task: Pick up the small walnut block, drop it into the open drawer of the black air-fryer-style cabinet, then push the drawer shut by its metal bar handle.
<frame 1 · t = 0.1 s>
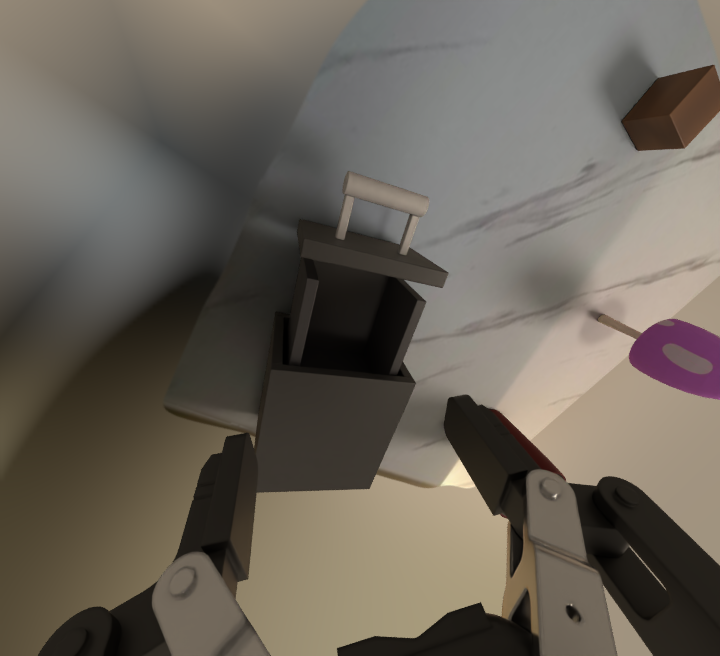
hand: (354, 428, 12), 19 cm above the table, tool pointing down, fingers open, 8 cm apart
drawer: (354, 292, 24), point 5 cm above the table, slide at 8.0 cm
cabinet: (318, 372, 33), on the table
toy: (600, 317, 39), on the table
block: (647, 116, 27), on the table
mug: (472, 424, 44), on the table
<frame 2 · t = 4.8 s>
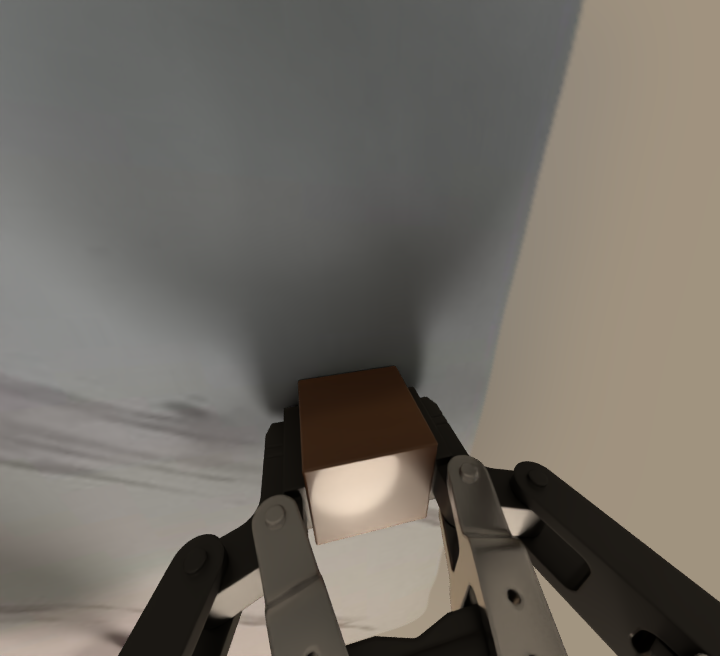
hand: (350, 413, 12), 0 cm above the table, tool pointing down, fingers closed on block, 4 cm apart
block: (350, 408, 13), on the table, touching gripper
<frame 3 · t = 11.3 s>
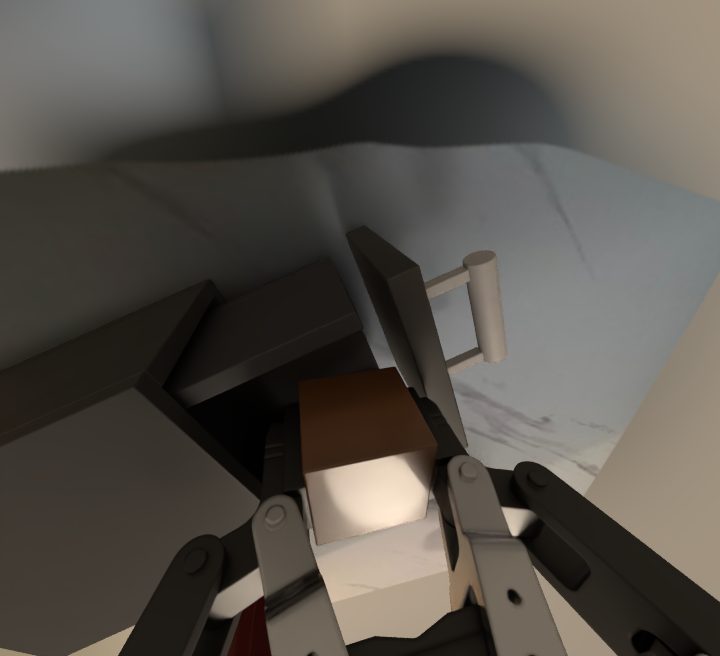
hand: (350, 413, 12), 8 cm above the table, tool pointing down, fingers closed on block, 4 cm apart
drawer: (344, 362, 15), point 5 cm above the table, slide at 8.0 cm
cabinet: (170, 394, 19), on the table
block: (350, 409, 13), point 8 cm above the table, touching gripper
mug: (269, 566, 33), on the table
when the fingers open (10 cm above the table, at t = 20.7 s): block drops 8 cm, resting on drawer.
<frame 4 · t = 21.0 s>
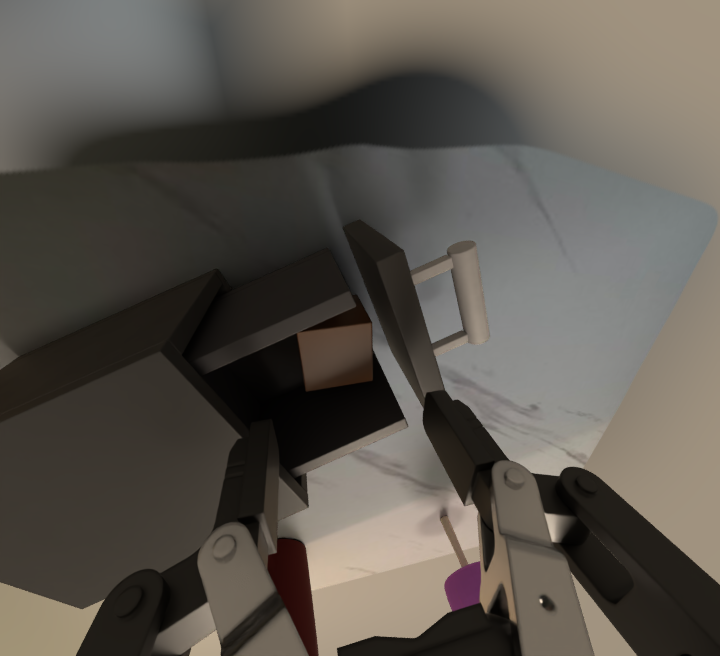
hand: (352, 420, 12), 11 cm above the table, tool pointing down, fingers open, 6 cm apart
drawer: (341, 343, 17), point 5 cm above the table, slide at 8.1 cm, touching block
cabinet: (180, 377, 21), on the table
toy: (443, 517, 40), on the table
block: (328, 325, 19), point 2 cm above the table, touching drawer
mug: (270, 547, 34), on the table
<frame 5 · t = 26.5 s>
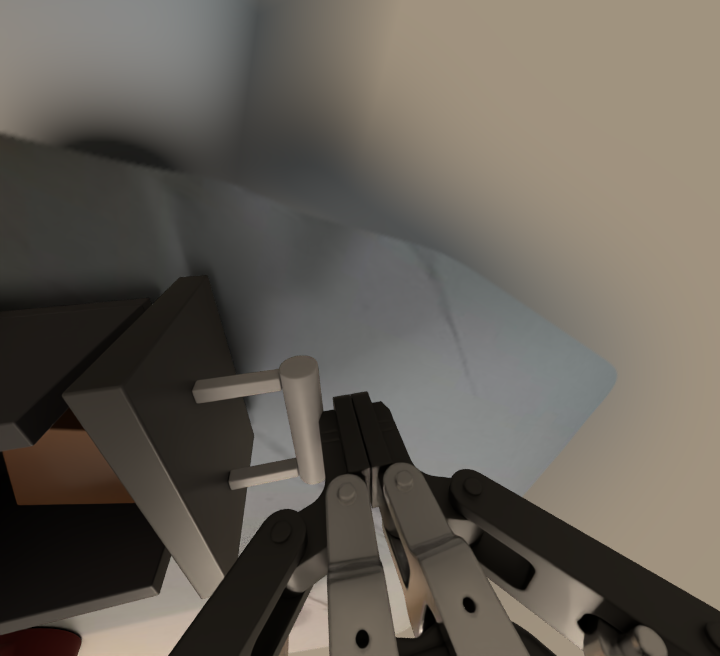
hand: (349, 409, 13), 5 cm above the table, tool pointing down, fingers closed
drawer: (110, 440, 12), point 5 cm above the table, slide at 8.0 cm, touching block, gripper
toy: (284, 615, 33), on the table
block: (131, 395, 14), point 2 cm above the table, touching drawer
mug: (26, 636, 25), on the table
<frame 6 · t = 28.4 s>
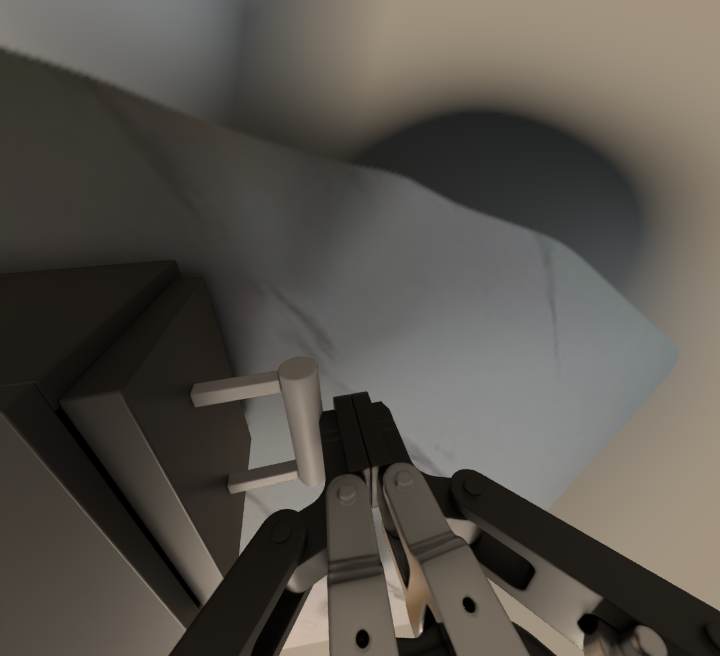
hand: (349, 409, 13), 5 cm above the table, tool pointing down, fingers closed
drawer: (105, 447, 11), point 5 cm above the table, slide at 0.0 cm, touching block, cabinet, gripper
cabinet: (65, 385, 15), on the table
block: (124, 400, 14), point 2 cm above the table, touching drawer
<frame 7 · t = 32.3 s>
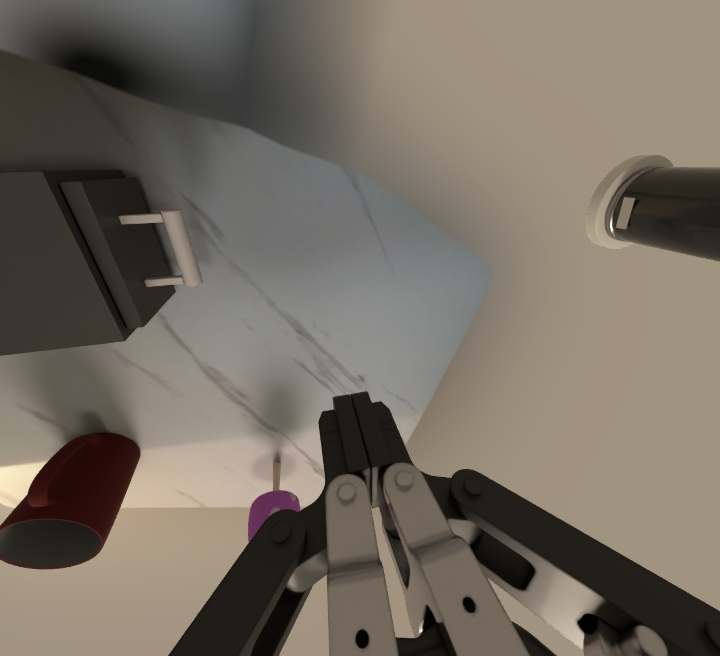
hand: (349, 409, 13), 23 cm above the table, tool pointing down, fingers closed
drawer: (83, 253, 23), point 5 cm above the table, slide at 0.0 cm, touching block
cabinet: (65, 243, 27), on the table
toy: (277, 463, 47), on the table
mug: (106, 443, 38), on the table
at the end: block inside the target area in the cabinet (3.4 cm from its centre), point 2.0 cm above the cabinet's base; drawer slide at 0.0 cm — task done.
